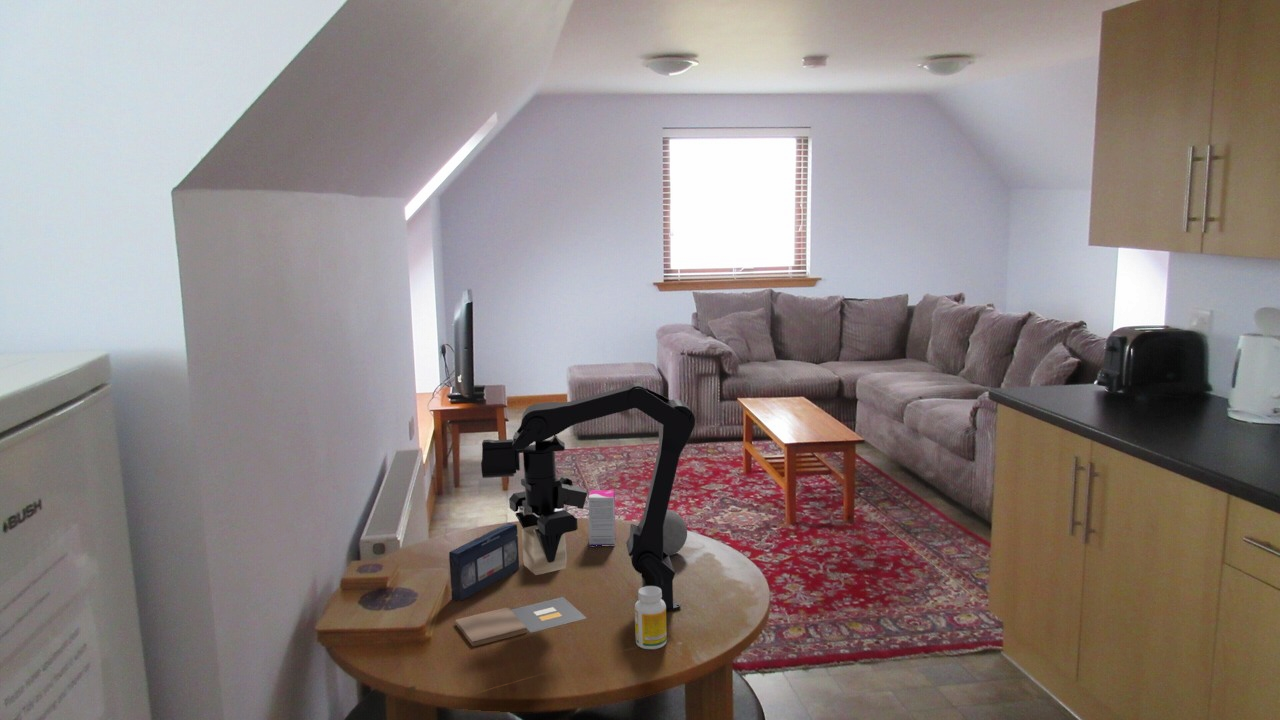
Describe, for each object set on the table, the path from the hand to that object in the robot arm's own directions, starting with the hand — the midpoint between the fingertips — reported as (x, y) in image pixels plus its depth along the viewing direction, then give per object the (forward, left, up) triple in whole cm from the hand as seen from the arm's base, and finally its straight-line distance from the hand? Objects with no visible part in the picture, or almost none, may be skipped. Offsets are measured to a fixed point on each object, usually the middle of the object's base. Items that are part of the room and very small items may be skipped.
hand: (544, 556), depth 167 cm
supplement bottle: (-20, -11, -12) cm, 26 cm away
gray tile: (0, 0, -11) cm, 11 cm away
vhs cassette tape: (+20, +5, -12) cm, 24 cm away
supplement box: (+28, -25, -12) cm, 39 cm away
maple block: (0, 0, -2) cm, 2 cm away
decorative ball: (+14, -33, -12) cm, 38 cm away
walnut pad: (0, +11, -11) cm, 16 cm away
